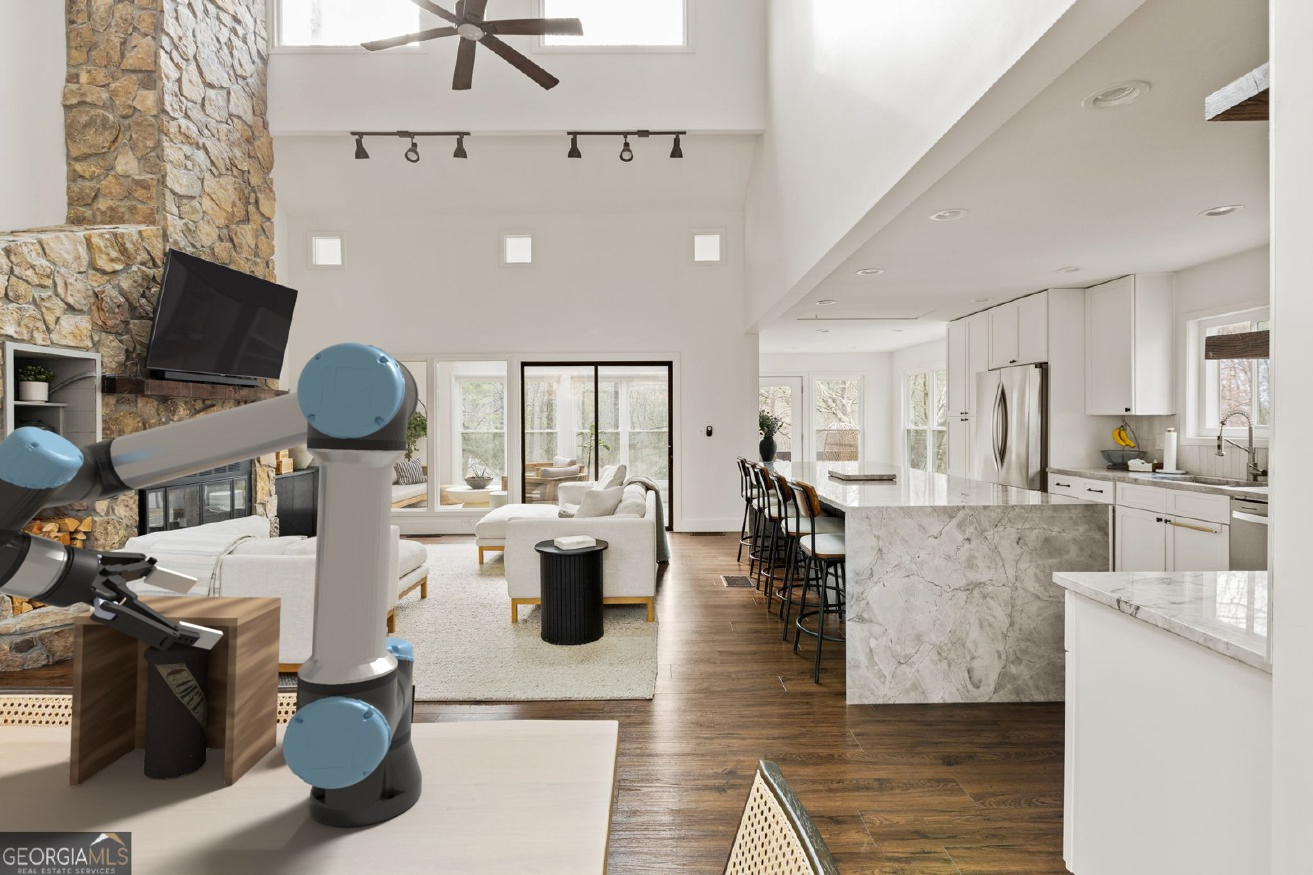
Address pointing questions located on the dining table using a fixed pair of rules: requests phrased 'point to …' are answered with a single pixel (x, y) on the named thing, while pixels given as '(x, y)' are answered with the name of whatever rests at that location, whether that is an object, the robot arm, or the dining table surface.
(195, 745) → the container
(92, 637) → the cubby
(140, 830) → the dining table surface
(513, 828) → the dining table surface
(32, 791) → the dining table surface
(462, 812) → the dining table surface
